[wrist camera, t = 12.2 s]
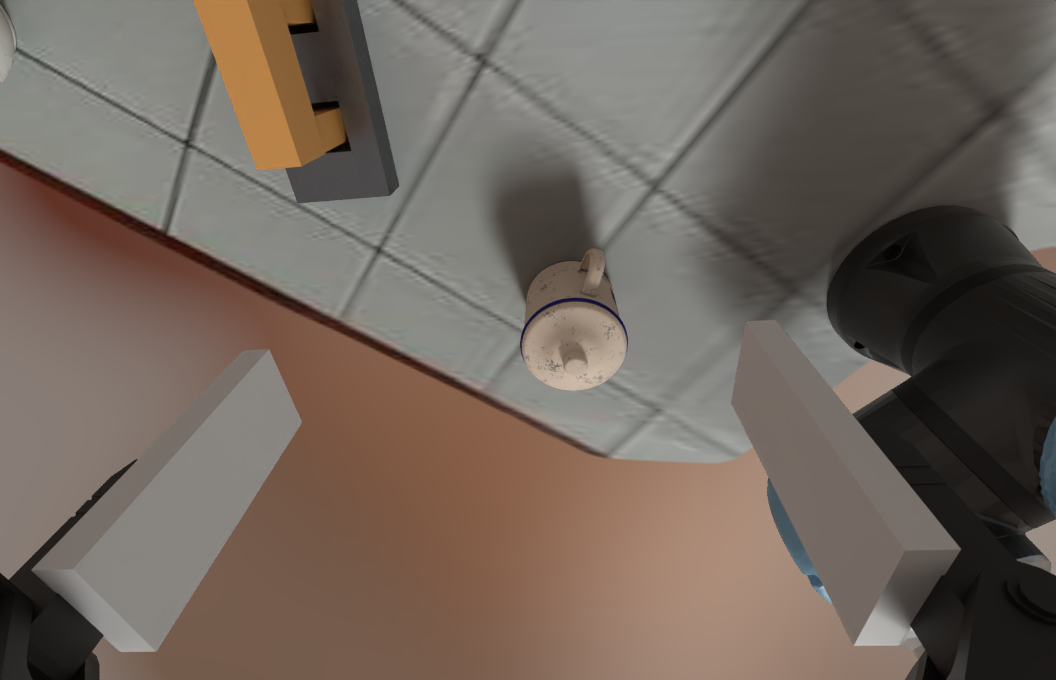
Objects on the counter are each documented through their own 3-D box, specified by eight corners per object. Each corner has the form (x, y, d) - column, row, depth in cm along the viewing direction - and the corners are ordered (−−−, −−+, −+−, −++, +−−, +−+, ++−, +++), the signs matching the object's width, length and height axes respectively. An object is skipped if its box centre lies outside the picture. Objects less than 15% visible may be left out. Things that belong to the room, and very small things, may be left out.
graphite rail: (333, -100, 32) (315, -112, 30) (399, 186, 42) (389, 195, 40) (221, -86, 33) (194, -96, 30) (312, 193, 43) (297, 203, 40)
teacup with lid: (598, 346, 51) (610, 421, 41) (514, 326, 50) (507, 398, 40) (640, 242, 44) (667, 300, 34) (545, 217, 43) (545, 270, 34)
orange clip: (358, 136, 40) (301, 166, 31) (324, 139, 40) (257, 170, 31) (318, -17, 35) (234, -37, 25) (279, -13, 35) (181, -30, 26)
